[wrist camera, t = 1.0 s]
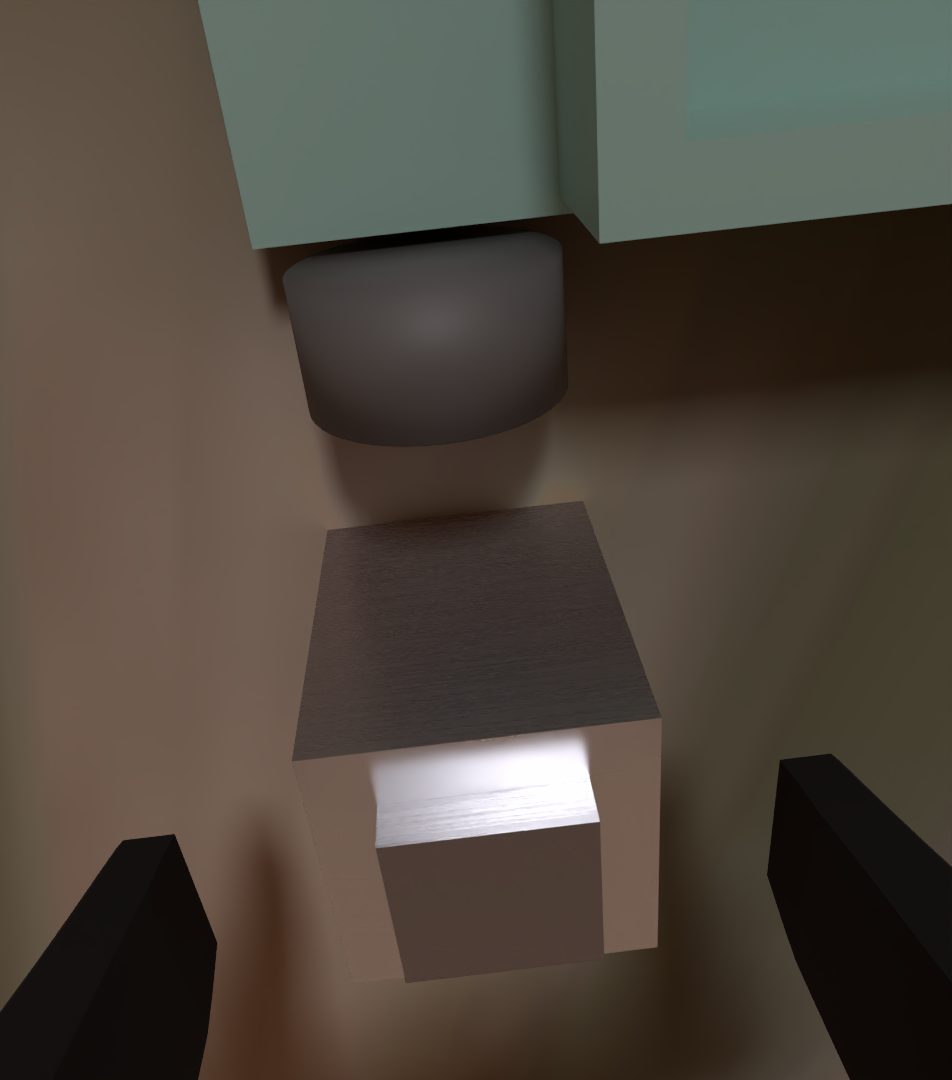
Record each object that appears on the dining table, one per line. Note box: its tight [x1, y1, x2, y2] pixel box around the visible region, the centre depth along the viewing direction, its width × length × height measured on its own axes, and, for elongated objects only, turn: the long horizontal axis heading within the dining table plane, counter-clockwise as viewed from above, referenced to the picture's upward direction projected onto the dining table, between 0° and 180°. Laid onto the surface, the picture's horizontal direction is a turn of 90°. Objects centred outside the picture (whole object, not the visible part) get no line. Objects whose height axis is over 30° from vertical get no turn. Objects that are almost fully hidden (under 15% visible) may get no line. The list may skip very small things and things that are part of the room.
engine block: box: [292, 501, 662, 984], centre depth 12 cm, size 4×4×6 cm
